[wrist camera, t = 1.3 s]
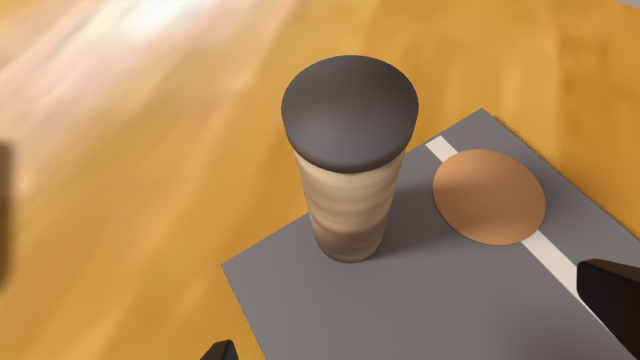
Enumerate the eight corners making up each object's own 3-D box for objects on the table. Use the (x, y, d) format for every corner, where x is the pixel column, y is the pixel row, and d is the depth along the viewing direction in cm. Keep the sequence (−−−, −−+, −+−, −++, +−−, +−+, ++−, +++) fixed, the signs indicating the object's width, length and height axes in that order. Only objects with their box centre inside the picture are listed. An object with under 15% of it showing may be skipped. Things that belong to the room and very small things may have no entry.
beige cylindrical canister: (399, 239, 21) (448, 115, 11) (338, 279, 20) (328, 186, 10) (357, 185, 23) (364, 38, 13) (299, 220, 22) (258, 91, 12)
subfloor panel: (728, 342, 19) (758, 339, 17) (413, 651, 14) (420, 682, 13) (475, 120, 27) (482, 106, 26) (228, 271, 23) (220, 264, 21)
